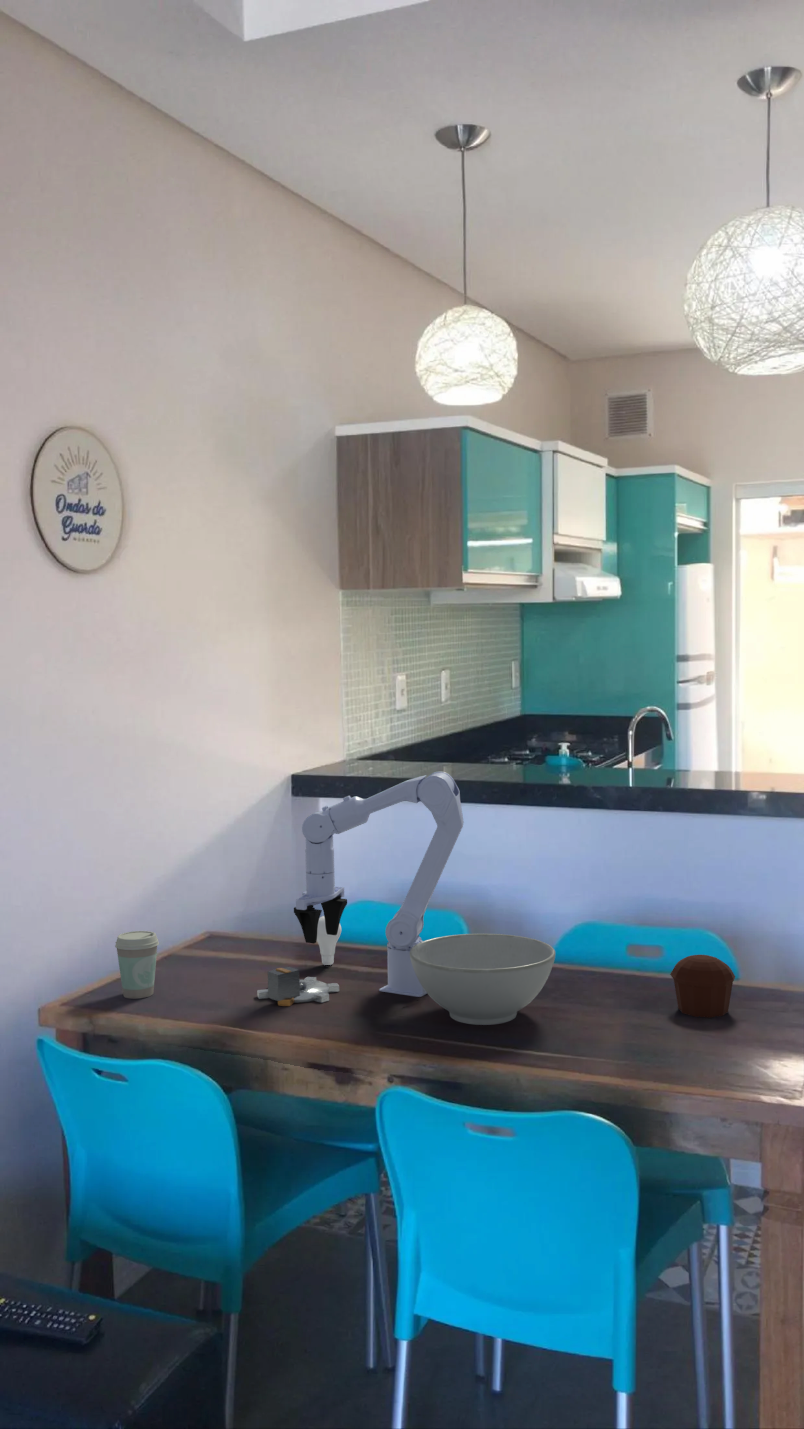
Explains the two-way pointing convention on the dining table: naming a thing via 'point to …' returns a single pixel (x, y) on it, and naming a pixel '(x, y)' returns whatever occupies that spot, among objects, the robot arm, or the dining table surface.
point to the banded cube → (283, 983)
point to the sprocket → (306, 992)
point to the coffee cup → (137, 962)
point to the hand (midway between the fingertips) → (321, 938)
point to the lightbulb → (326, 942)
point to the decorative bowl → (482, 974)
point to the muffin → (703, 986)
